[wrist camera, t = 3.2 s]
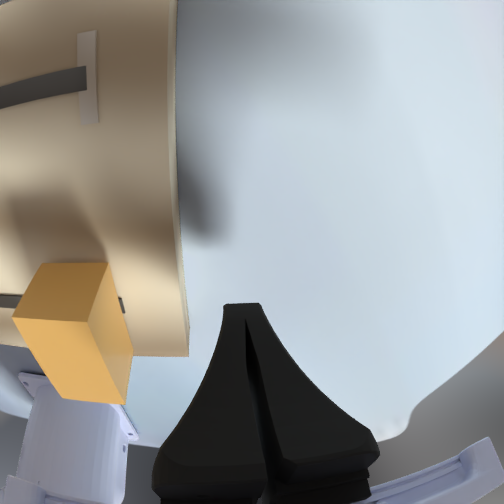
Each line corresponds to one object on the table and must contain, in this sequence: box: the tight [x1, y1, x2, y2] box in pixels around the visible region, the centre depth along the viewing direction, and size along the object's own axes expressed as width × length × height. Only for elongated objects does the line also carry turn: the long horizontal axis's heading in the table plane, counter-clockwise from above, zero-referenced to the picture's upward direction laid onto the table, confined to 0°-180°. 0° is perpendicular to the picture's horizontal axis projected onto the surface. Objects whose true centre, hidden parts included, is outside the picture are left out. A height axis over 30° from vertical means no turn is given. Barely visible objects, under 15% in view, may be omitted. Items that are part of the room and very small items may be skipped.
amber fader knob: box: [12, 262, 134, 405], centre depth 11 cm, size 5×3×3 cm, turn 177°
